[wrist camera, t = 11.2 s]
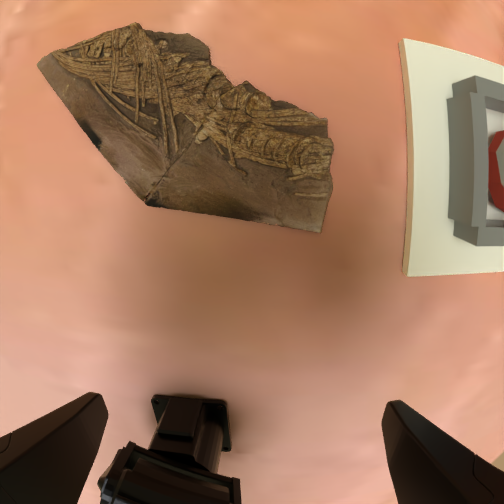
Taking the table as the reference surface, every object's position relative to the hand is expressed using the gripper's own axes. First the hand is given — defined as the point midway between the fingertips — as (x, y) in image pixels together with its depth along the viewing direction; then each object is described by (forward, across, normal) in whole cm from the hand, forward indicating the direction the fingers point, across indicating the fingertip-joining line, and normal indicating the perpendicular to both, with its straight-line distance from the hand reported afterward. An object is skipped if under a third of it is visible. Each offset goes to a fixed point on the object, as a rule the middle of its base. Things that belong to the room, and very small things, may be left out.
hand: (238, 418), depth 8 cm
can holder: (+13, -18, -8) cm, 24 cm away
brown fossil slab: (+14, +6, -11) cm, 18 cm away
